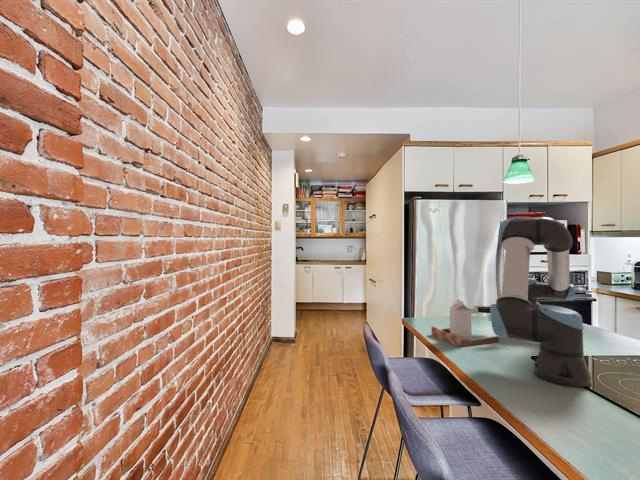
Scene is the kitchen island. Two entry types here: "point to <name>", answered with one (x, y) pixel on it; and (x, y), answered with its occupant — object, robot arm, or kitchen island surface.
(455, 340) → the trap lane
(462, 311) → the milk carton
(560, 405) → the kitchen island surface
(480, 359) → the kitchen island surface
